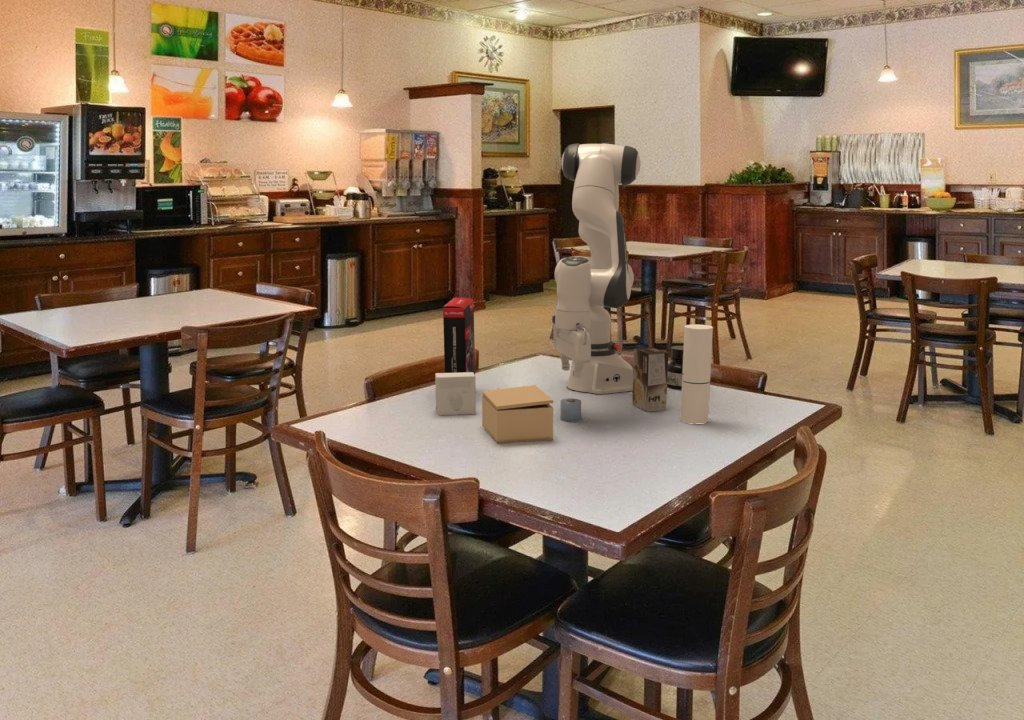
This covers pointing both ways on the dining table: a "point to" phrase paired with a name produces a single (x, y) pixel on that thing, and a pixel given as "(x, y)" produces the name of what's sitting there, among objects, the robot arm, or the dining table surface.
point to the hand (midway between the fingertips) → (571, 373)
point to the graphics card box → (459, 336)
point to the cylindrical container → (696, 373)
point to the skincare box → (455, 393)
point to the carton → (518, 422)
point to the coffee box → (650, 379)
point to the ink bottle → (675, 368)
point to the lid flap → (517, 397)
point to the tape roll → (570, 410)
